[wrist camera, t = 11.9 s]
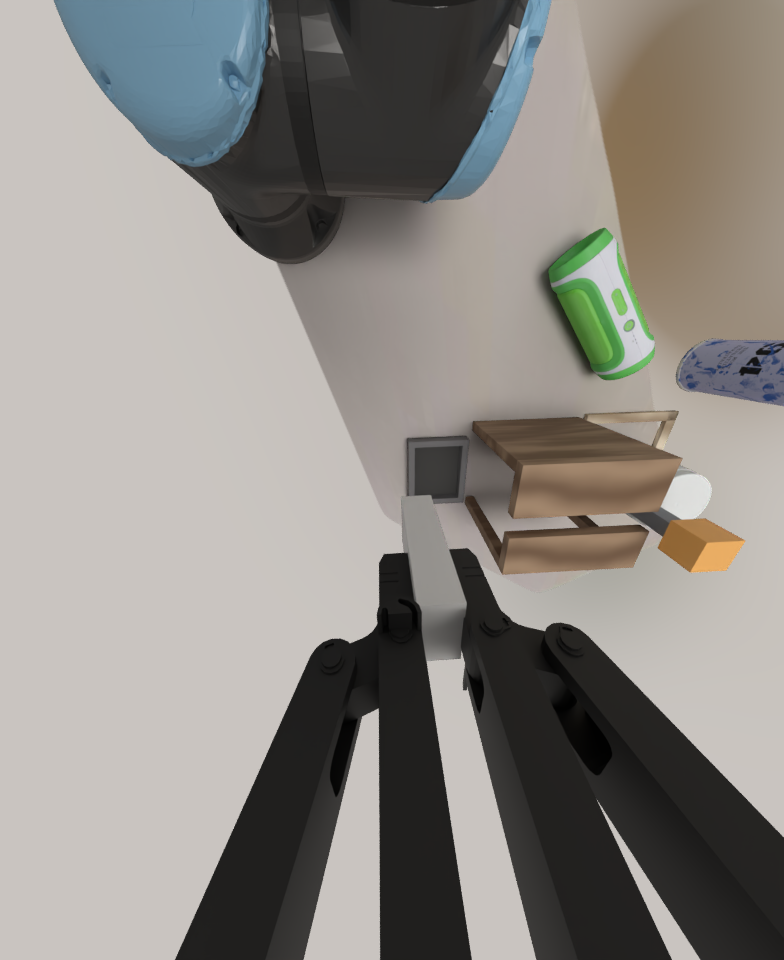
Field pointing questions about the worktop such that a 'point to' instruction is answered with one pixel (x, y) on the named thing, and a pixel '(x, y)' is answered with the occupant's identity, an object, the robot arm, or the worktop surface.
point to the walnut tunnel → (572, 493)
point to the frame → (664, 416)
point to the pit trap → (438, 468)
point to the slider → (693, 541)
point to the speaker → (602, 306)
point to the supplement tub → (685, 495)
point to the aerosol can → (735, 369)
